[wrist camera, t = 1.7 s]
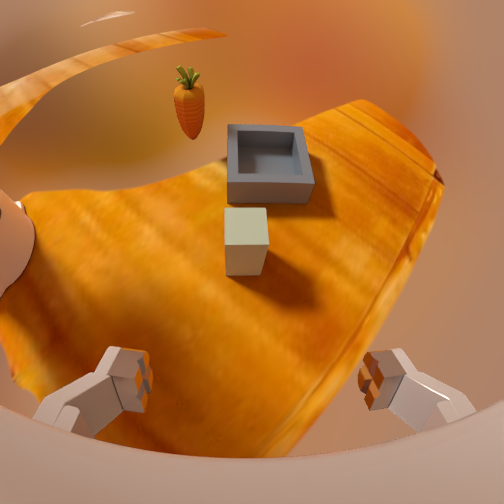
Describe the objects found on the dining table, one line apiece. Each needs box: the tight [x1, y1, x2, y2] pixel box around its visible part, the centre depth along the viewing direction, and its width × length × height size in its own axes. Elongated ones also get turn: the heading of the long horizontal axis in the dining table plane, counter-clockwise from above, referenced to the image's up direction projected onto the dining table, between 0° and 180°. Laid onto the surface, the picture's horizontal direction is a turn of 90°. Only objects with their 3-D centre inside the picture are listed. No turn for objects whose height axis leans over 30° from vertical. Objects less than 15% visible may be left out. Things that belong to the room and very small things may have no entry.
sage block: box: [225, 208, 269, 276], centre depth 35 cm, size 4×4×9 cm
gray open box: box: [227, 124, 315, 204], centre depth 43 cm, size 12×12×5 cm
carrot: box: [174, 66, 204, 140], centre depth 41 cm, size 5×5×15 cm
